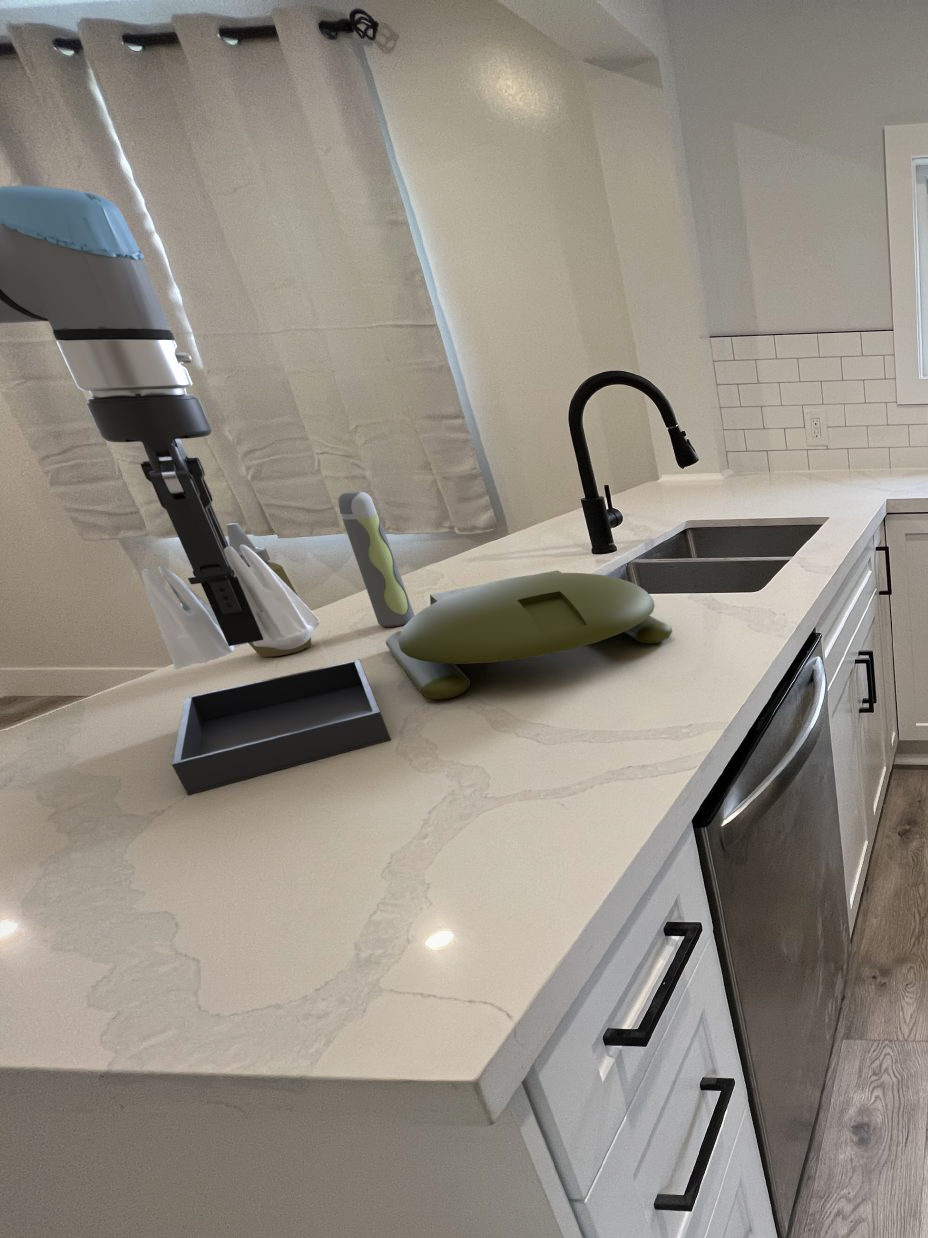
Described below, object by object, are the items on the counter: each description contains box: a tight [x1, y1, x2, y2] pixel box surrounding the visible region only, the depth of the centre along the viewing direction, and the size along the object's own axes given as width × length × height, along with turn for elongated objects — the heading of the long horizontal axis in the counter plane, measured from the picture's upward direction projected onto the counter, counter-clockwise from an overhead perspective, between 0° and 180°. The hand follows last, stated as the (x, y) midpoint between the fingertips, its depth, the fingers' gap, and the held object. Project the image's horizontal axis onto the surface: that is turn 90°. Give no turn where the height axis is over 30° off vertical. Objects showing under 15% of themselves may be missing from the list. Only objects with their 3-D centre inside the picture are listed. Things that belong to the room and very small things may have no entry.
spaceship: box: [385, 569, 673, 700], centre depth 103 cm, size 35×31×10 cm
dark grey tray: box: [171, 659, 392, 796], centre depth 82 cm, size 21×16×3 cm
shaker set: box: [141, 545, 321, 670], centre depth 77 cm, size 12×4×11 cm, turn 119°
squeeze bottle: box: [226, 522, 312, 657], centre depth 104 cm, size 8×8×18 cm
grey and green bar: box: [337, 490, 416, 628], centre depth 114 cm, size 5×5×20 cm
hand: (246, 635), depth 78 cm, fingers closed on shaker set, 5 cm apart
